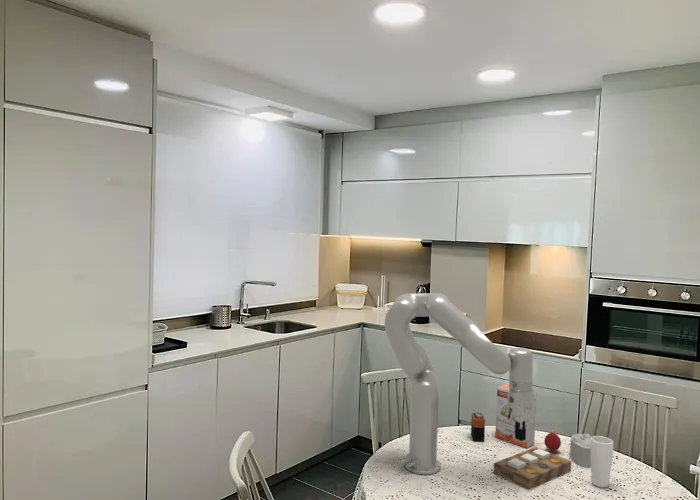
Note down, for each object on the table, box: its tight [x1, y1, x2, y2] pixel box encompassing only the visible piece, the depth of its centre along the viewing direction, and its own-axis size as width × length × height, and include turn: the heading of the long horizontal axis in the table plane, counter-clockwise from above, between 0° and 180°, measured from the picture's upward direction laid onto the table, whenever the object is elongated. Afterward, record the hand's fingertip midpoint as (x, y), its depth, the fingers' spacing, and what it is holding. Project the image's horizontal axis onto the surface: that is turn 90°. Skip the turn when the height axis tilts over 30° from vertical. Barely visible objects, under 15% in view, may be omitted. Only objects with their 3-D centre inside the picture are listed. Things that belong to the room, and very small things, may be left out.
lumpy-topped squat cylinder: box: [569, 433, 592, 469], centre depth 196 cm, size 10×13×9 cm
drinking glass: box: [590, 435, 614, 488], centre depth 178 cm, size 7×7×15 cm
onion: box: [543, 429, 562, 453], centre depth 203 cm, size 6×6×8 cm
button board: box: [493, 446, 572, 491], centre depth 186 cm, size 24×14×4 cm, turn 127°
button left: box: [508, 458, 526, 470], centre depth 183 cm, size 4×4×2 cm
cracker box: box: [495, 383, 537, 449], centre depth 211 cm, size 14×6×21 cm, turn 42°
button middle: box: [520, 454, 538, 465], centre depth 187 cm, size 4×4×2 cm
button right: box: [532, 448, 551, 460], centre depth 191 cm, size 4×4×2 cm
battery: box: [470, 411, 486, 443], centre depth 214 cm, size 4×7×10 cm, turn 175°
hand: (520, 439), depth 182 cm, fingers closed
